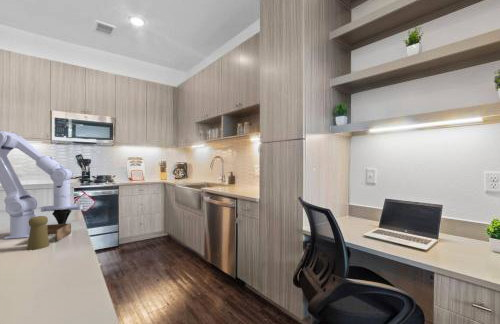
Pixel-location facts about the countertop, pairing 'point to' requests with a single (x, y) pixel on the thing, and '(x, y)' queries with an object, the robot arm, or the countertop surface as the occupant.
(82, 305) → the countertop surface
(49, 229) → the wooden bracket shelf
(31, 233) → the cork
